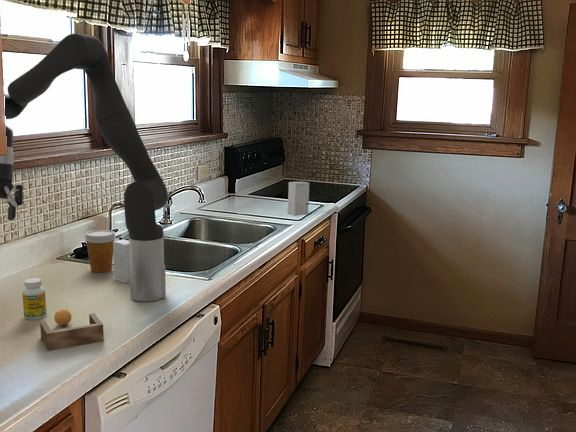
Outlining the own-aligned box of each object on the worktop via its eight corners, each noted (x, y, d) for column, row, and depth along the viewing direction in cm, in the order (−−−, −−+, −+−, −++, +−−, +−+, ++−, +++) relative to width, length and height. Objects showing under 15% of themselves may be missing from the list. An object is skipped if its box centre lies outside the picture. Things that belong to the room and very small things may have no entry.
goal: (94, 328, 155) (94, 313, 154) (103, 340, 148) (103, 324, 147) (40, 337, 148) (40, 321, 148) (47, 350, 142) (46, 333, 141)
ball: (71, 321, 159) (70, 306, 158) (72, 327, 155) (71, 311, 155) (54, 322, 158) (53, 307, 157) (54, 328, 154) (53, 313, 153)
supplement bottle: (43, 311, 165) (41, 275, 163) (48, 318, 161) (46, 281, 159) (21, 315, 162) (19, 279, 160) (26, 321, 158) (24, 284, 156)
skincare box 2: (294, 215, 293) (295, 183, 289) (286, 213, 297) (287, 181, 294) (309, 213, 297) (310, 182, 294) (301, 211, 302) (302, 180, 299)
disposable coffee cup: (91, 265, 207) (90, 229, 205) (120, 266, 207) (119, 230, 204) (81, 273, 198) (79, 236, 195) (111, 274, 197) (110, 237, 195)
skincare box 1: (137, 280, 192) (136, 242, 190) (126, 283, 189) (125, 244, 187) (124, 276, 196) (123, 238, 193) (113, 279, 193) (112, 241, 190)
